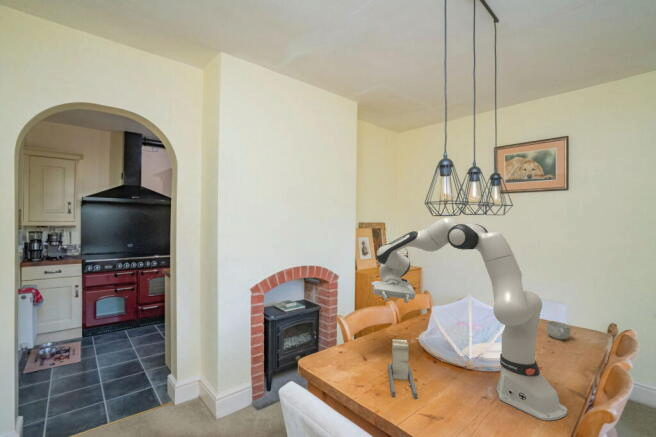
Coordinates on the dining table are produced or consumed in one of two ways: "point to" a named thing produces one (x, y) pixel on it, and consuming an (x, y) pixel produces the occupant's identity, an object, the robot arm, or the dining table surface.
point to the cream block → (400, 359)
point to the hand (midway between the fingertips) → (396, 300)
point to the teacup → (558, 330)
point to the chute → (409, 380)
